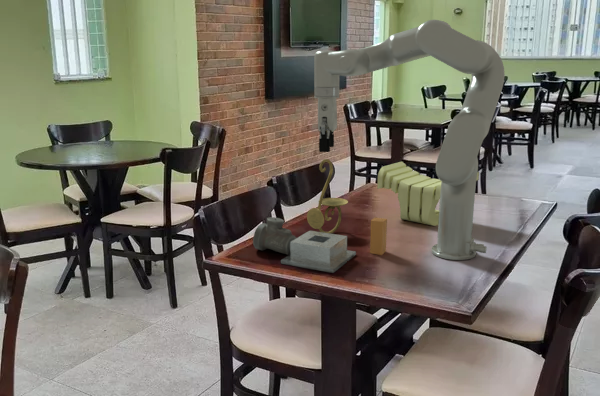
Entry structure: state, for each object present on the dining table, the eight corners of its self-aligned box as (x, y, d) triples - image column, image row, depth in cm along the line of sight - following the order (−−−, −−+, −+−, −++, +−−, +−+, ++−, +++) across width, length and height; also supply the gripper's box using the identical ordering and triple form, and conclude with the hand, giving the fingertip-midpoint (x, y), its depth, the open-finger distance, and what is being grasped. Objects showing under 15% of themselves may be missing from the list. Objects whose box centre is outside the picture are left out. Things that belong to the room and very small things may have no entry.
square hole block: (355, 254, 169) (356, 235, 167) (333, 272, 155) (333, 251, 153) (306, 246, 176) (306, 227, 174) (280, 263, 162) (280, 243, 161)
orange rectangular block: (385, 251, 172) (386, 218, 169) (381, 255, 168) (382, 222, 166) (374, 249, 173) (375, 217, 171) (370, 253, 170) (370, 220, 168)
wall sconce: (326, 242, 179) (327, 163, 173) (303, 236, 185) (303, 159, 179) (353, 232, 189) (354, 156, 183) (330, 227, 196) (331, 153, 189)
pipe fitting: (249, 251, 171) (253, 217, 169) (264, 245, 178) (269, 213, 176) (284, 262, 165) (288, 228, 163) (298, 256, 172) (303, 223, 170)
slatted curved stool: (376, 216, 208) (377, 167, 203) (399, 207, 219) (401, 161, 215) (454, 233, 189) (457, 179, 184) (475, 222, 200) (479, 171, 196)
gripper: (335, 95, 166) (335, 154, 170) (342, 91, 183) (341, 145, 187) (309, 94, 167) (310, 153, 171) (318, 91, 184) (318, 144, 188)
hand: (326, 149), depth 179 cm, fingers open, 9 cm apart
